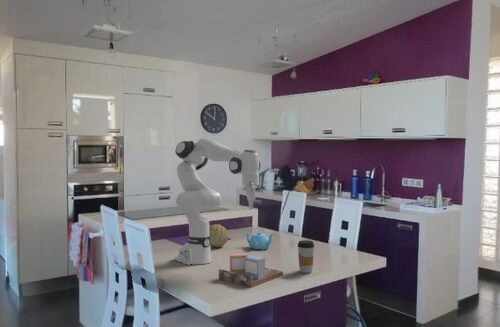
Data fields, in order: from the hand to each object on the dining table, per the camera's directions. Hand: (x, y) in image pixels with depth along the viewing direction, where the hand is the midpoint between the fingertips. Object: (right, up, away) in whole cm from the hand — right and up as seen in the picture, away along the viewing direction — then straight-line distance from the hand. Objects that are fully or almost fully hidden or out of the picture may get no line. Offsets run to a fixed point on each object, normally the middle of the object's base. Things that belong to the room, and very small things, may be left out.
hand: (250, 208), depth 219 cm
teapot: (+5, -31, +46) cm, 55 cm away
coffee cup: (+28, -31, -7) cm, 42 cm away
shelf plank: (0, -31, -16) cm, 35 cm away
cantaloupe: (-22, -30, +50) cm, 62 cm away
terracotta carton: (-6, -29, -16) cm, 34 cm away
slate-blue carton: (+2, -30, -23) cm, 38 cm away
